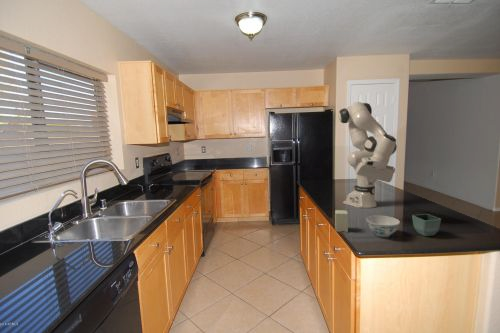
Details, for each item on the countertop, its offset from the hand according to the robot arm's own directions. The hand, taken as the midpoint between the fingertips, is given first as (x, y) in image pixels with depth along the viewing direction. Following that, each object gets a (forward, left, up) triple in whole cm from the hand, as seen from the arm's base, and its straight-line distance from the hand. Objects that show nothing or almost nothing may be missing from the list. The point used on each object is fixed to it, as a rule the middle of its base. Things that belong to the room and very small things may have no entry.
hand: (369, 184), depth 149 cm
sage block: (-2, -25, -21) cm, 33 cm away
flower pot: (+30, 0, -21) cm, 37 cm away
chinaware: (+16, -16, -21) cm, 31 cm away
